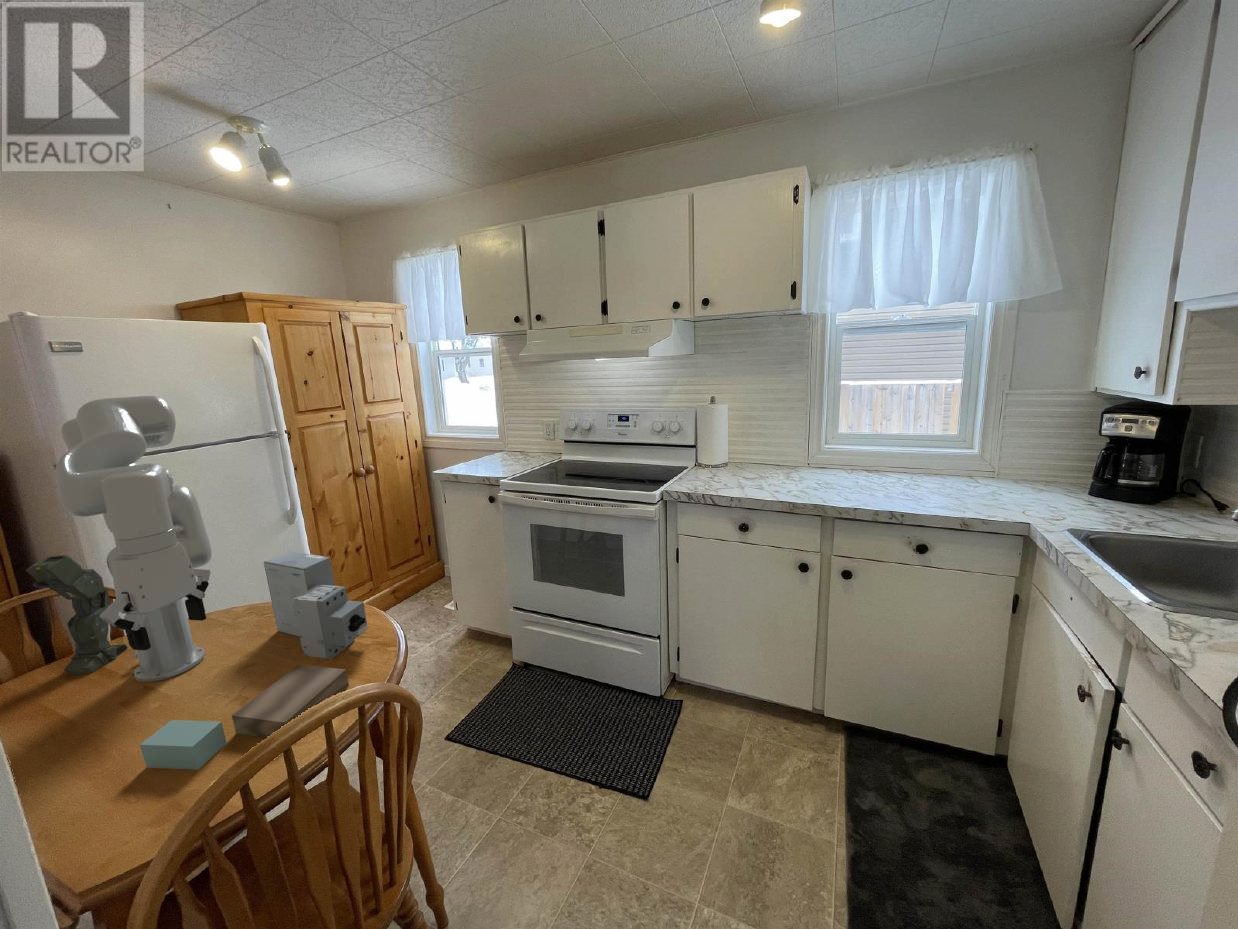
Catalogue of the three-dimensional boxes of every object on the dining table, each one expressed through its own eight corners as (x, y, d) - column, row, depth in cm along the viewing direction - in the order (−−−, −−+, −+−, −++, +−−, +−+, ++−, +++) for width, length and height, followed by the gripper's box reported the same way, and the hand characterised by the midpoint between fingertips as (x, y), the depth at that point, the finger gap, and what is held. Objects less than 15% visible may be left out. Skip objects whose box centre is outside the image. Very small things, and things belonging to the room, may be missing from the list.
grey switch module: (343, 627, 134) (331, 557, 130) (317, 642, 127) (303, 569, 123) (303, 617, 140) (290, 550, 135) (276, 631, 133) (261, 561, 128)
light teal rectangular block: (146, 768, 90) (139, 744, 89) (177, 742, 96) (171, 720, 94) (198, 770, 89) (192, 746, 88) (227, 744, 95) (221, 721, 94)
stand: (235, 733, 97) (231, 715, 96) (301, 680, 112) (298, 664, 112) (289, 740, 95) (285, 722, 94) (348, 685, 110) (345, 669, 109)
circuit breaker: (355, 661, 119) (345, 603, 116) (303, 655, 122) (292, 599, 118) (375, 643, 126) (367, 588, 123) (326, 638, 129) (316, 584, 126)
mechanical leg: (114, 638, 130) (54, 543, 117) (144, 636, 131) (88, 541, 117) (67, 682, 118) (-6, 582, 105) (100, 680, 119) (32, 580, 105)
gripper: (180, 526, 95) (201, 609, 99) (68, 562, 78) (97, 661, 82) (213, 526, 94) (233, 610, 97) (106, 563, 77) (135, 663, 81)
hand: (171, 633), depth 90 cm, fingers open, 9 cm apart
